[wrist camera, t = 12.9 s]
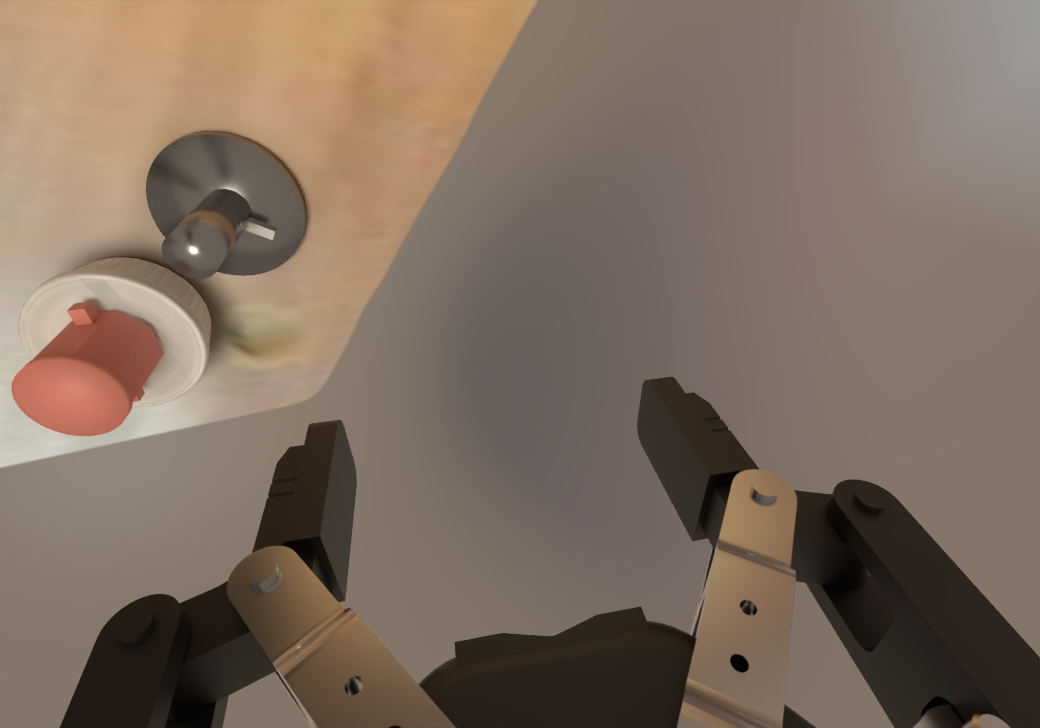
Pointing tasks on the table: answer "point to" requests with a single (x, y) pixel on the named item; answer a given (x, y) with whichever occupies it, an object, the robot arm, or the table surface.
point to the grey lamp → (224, 206)
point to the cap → (88, 372)
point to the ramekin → (139, 296)
